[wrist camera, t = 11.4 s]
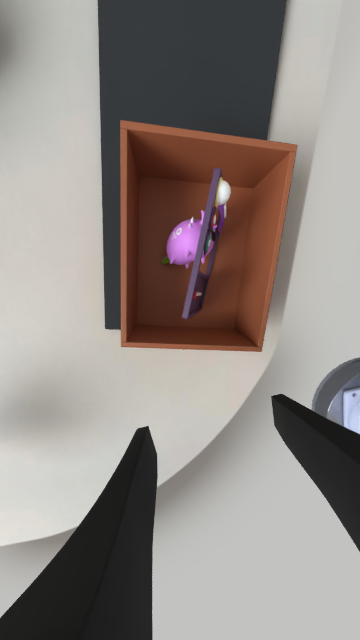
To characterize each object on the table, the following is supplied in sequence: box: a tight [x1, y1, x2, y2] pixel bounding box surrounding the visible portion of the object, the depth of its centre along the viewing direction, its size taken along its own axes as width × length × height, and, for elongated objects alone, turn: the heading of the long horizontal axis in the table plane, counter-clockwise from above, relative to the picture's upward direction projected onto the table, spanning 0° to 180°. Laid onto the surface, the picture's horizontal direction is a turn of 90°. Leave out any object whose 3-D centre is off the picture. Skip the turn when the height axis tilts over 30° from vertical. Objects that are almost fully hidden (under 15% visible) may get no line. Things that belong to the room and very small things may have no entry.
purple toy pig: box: [162, 168, 231, 319], centre depth 15 cm, size 7×5×9 cm
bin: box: [120, 120, 297, 352], centre depth 16 cm, size 14×11×6 cm
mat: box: [98, 0, 286, 330], centre depth 14 cm, size 48×14×1 cm, turn 176°
